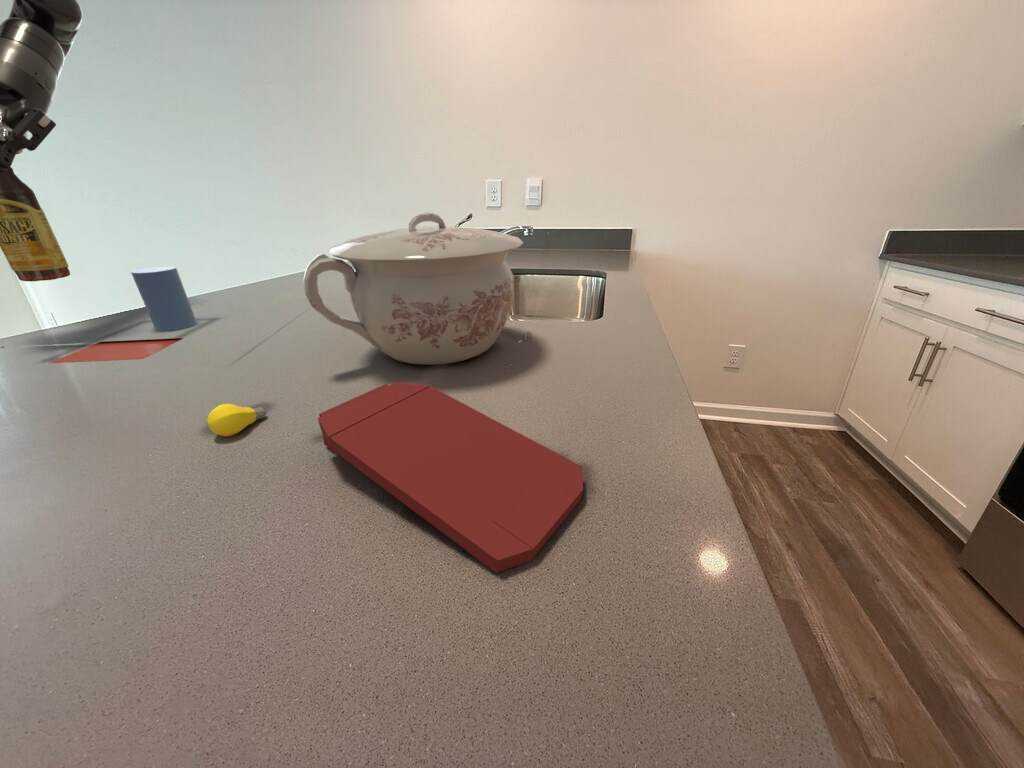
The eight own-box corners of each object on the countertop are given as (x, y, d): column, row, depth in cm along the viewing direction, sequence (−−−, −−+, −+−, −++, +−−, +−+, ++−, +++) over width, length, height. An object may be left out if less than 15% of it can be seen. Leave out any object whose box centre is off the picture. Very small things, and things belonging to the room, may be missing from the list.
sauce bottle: (8, 284, 63) (-80, 135, 54) (38, 277, 68) (-37, 139, 59) (60, 280, 64) (-18, 134, 56) (85, 273, 70) (18, 139, 61)
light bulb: (204, 441, 43) (196, 408, 43) (259, 428, 49) (252, 399, 48) (223, 438, 42) (215, 404, 41) (277, 425, 47) (270, 395, 47)
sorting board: (50, 367, 63) (47, 363, 63) (145, 328, 81) (143, 324, 81) (144, 363, 64) (142, 358, 64) (218, 324, 82) (216, 321, 81)
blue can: (147, 334, 75) (121, 273, 70) (171, 324, 80) (148, 267, 75) (184, 333, 75) (160, 272, 70) (204, 322, 81) (184, 265, 76)
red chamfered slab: (584, 512, 37) (401, 404, 49) (596, 473, 35) (399, 369, 46) (506, 614, 29) (305, 454, 40) (514, 572, 26) (297, 413, 38)
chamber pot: (529, 324, 77) (528, 206, 68) (516, 389, 53) (513, 217, 44) (387, 323, 80) (369, 209, 71) (313, 384, 56) (270, 222, 47)
